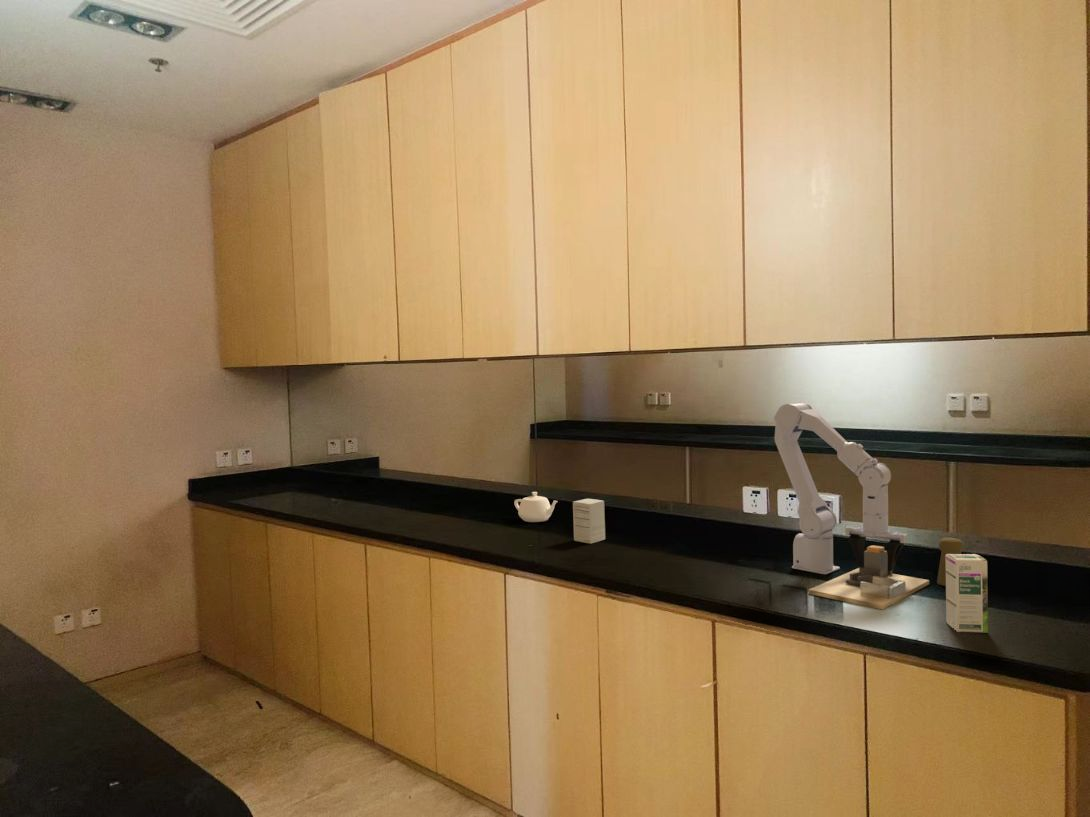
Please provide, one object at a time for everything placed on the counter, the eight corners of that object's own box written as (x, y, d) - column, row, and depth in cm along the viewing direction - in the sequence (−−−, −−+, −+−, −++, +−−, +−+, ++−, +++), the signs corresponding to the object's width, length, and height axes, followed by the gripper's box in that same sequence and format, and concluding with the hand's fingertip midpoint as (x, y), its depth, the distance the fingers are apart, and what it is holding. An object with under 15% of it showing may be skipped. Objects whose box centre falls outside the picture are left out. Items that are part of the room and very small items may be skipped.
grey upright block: (856, 573, 183) (856, 546, 182) (863, 570, 185) (863, 543, 185) (880, 578, 178) (880, 549, 178) (887, 575, 181) (887, 547, 181)
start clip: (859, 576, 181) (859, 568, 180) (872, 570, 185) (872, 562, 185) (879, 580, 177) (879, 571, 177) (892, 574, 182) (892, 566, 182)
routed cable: (844, 583, 174) (844, 579, 174) (859, 576, 180) (859, 572, 180) (877, 590, 169) (877, 586, 169) (892, 582, 174) (892, 578, 174)
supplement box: (588, 536, 238) (587, 498, 237) (605, 539, 232) (605, 500, 232) (573, 540, 232) (572, 501, 232) (590, 544, 227) (589, 503, 226)
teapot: (568, 519, 267) (567, 492, 266) (547, 525, 257) (546, 497, 256) (525, 514, 279) (525, 488, 278) (504, 520, 269) (503, 492, 269)
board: (808, 593, 171) (808, 589, 171) (859, 571, 188) (859, 567, 188) (882, 609, 158) (882, 605, 158) (929, 584, 176) (929, 580, 176)
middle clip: (860, 585, 173) (860, 577, 173) (849, 581, 176) (849, 573, 176) (872, 583, 174) (872, 575, 174) (861, 580, 177) (861, 571, 177)
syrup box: (956, 632, 144) (956, 559, 143) (945, 622, 149) (945, 552, 149) (988, 633, 143) (988, 560, 142) (975, 623, 148) (975, 552, 148)
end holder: (860, 593, 167) (860, 582, 167) (874, 586, 172) (874, 575, 172) (891, 599, 162) (891, 588, 162) (905, 592, 167) (905, 581, 167)
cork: (939, 578, 180) (939, 534, 180) (967, 582, 176) (967, 537, 176) (934, 584, 175) (934, 539, 175) (963, 588, 171) (962, 542, 171)
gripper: (839, 511, 183) (839, 565, 184) (898, 519, 172) (899, 576, 173) (852, 507, 188) (852, 560, 188) (911, 514, 177) (911, 570, 178)
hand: (875, 567), depth 181 cm, fingers open, 7 cm apart
